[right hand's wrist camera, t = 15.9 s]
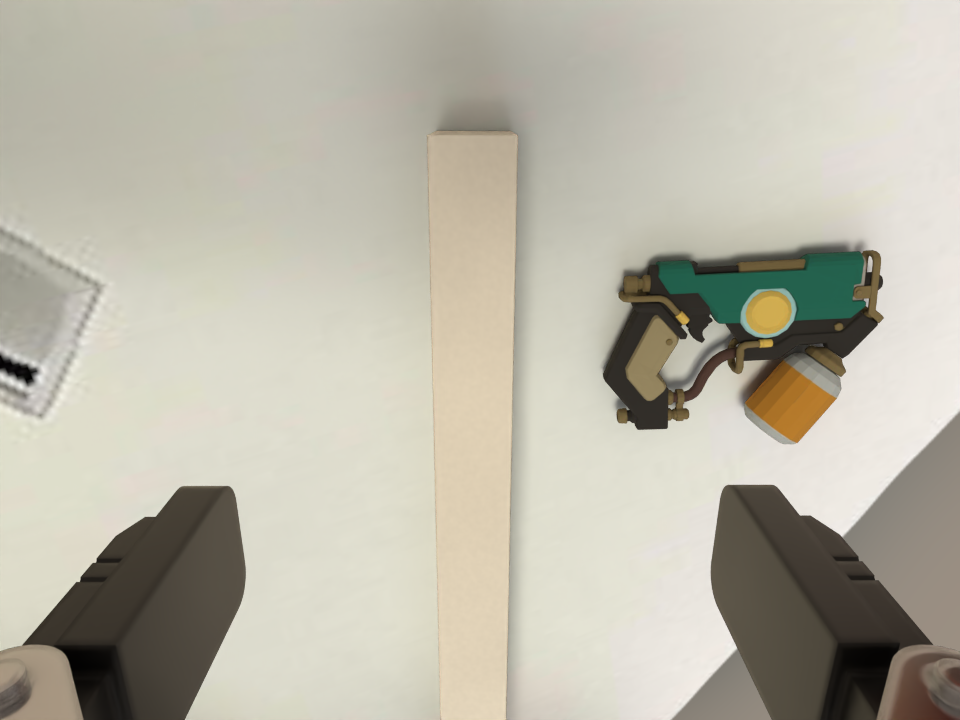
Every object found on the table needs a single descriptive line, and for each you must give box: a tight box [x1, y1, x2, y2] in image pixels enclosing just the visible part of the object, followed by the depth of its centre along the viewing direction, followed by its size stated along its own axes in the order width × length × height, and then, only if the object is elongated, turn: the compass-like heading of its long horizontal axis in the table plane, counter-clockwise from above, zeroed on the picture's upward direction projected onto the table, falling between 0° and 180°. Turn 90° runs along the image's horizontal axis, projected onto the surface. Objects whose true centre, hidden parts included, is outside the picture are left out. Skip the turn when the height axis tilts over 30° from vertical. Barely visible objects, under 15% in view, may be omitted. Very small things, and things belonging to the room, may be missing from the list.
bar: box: [427, 131, 518, 720], centre depth 49 cm, size 57×5×8 cm, turn 0°
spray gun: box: [603, 250, 884, 444], centre depth 45 cm, size 4×17×15 cm
